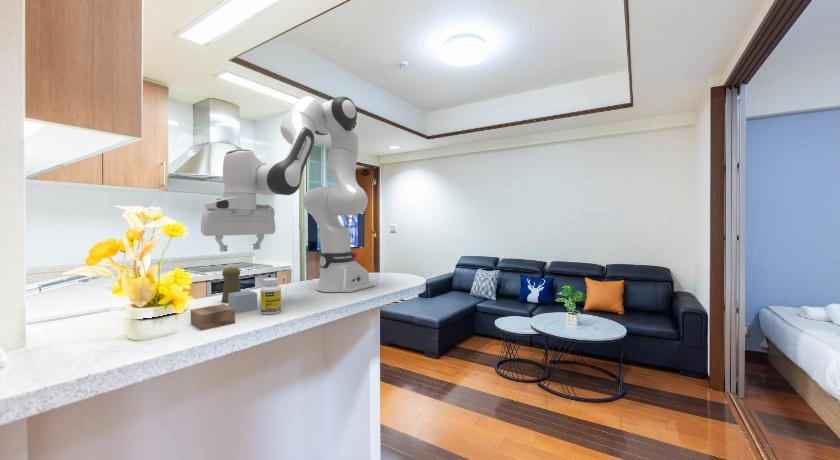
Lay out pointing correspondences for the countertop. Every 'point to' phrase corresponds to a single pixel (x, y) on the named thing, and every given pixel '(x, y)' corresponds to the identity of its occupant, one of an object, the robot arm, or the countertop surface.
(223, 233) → the robot arm
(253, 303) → the blue block
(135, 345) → the countertop surface
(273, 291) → the supplement bottle
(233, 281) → the cork
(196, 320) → the base block
